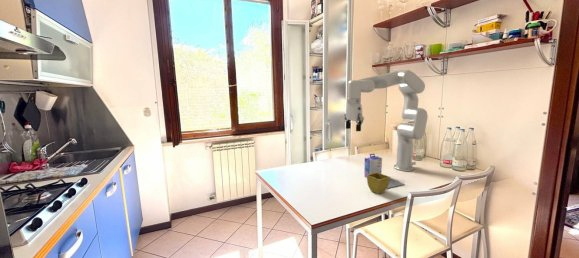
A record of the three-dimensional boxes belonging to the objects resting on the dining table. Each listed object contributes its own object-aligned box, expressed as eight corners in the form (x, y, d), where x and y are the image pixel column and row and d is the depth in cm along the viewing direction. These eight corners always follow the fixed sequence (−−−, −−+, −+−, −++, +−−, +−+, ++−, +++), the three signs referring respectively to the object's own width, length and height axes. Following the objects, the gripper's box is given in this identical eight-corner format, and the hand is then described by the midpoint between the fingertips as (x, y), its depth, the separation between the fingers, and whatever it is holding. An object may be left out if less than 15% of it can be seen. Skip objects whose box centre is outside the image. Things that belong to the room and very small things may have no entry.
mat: (385, 176, 159) (385, 175, 159) (404, 184, 145) (404, 184, 145) (367, 179, 153) (367, 179, 153) (386, 189, 140) (386, 188, 140)
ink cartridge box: (375, 173, 164) (376, 152, 161) (381, 176, 158) (383, 154, 156) (363, 176, 160) (364, 154, 157) (369, 179, 155) (370, 156, 152)
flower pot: (376, 187, 143) (377, 171, 141) (389, 192, 135) (390, 176, 134) (365, 190, 138) (366, 175, 136) (378, 196, 131) (379, 180, 129)
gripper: (369, 102, 142) (367, 131, 145) (350, 100, 158) (349, 127, 161) (358, 102, 139) (357, 132, 142) (340, 100, 155) (339, 128, 158)
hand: (353, 129), depth 151 cm, fingers open, 9 cm apart
